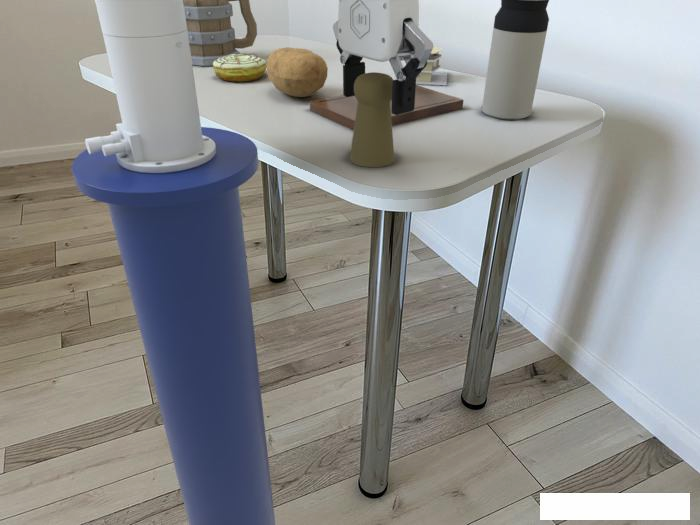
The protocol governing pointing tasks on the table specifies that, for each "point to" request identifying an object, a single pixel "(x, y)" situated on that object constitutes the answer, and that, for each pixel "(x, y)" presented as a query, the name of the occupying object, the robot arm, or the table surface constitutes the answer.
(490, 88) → the travel mug
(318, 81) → the potato
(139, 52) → the robot arm
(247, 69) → the decorated donut
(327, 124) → the table surface
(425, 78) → the stacked layers on plate
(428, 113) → the cutting board
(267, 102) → the table surface
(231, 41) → the tankard
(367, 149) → the olive tapered rounded piece
